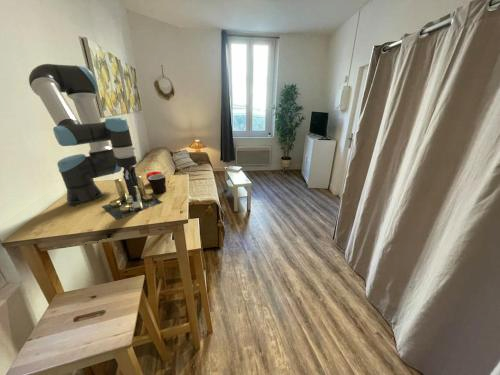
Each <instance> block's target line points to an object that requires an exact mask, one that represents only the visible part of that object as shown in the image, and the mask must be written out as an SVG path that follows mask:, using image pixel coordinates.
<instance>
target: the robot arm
mask: <svg viewBox="0 0 500 375" xmlns="http://www.w3.org/2000/svg"><path fill="white" fill-rule="evenodd" d="M28 76H29V77H28V84H29V86H30V88H31V90H32V92H33V93H34V94H35V95H37V96H38V97H39V98H40V100H41V102H42V103H43V105H44V107H45V108H46V111H47V112H48V114H49V115H50V117H51V119H52V120H53V122H54V124H55V125H56V126H54V127H53V128H52V129H53V134H54V136H55V139H56V141H57V143H58V144H59V146H61V147H71V146H72V147H73V146H79V145H86V144H88V145H89V148H90V150H89V151H88V156H87V155H86V154H84V153H79V154H74V155H70V156H66V157H64V158H61V159H60V160H58V161H57V163H56V164H57V167H58V172H59V173H60V174H61V175H60V176H61V178H62V180H63V182H64V183H63V184H64V186H65V188H66V203H67V204H68V206H71V207H76V206H79V205H82V204H87V203H90V202H94V201H96V200H98V199H99V198H101V197H102V196H103V192H102V191H101V189H100V188H99V187H98V186H97V185H96V183H95V180H94V179H96V178H101V177H104V176H109V175H114V174H117V173H120V172H121V171H122V169H123V171H122V174H123V176H122V177H123V180H124V181H125V185H126V186H125V187H126V188H127V189H126V190H127V192H128V195H127V196H129V197H131V198H132V202H133V206H134V208H137V207H141V205H140V201H139V197H138V194H137V192H136V187H135V185H136V186H137V187H139V185H138V181H137V177H136V176H137V173H136V167H135V166H136V165H137V164H138V162H137V157H136V155H135V150H136V147H134V146H133V140H132V137H131V133H130V126H129V124H128V121H127V119H126V118H125V117H108V118H105V119H104V121H102V119H101V116H100V113H99V110H98V107H97V104H96V102H95V98H96V96H97V94H96V93H97V92H98V91H99V86H98V83H97V80H96V78H95V76H94V74H93V73H92V71H91V70H90V69H89V68H87V67H86V66H79V65H76V64H75V65H72V64H71V65H69V64H68V65H67V64H53V63H45V64H40V65H37V66H36V67H34V68H33V69H32V70H31V72H30V73H29V75H28ZM62 93H66V96H67V98H69V99H71V100H72V101H73V103H74V108H76V112H77V115H78V117H77V116H76V114H75V113H74V111H73V109H72V108H71V106H70V105H69V104H68V102H67V100H66V98H65V97H64V95H63V94H62ZM78 118H79V119H78ZM79 120H80V121H79ZM109 141H110V143H109ZM139 190H140V188H138V191H139ZM139 195H140V193H139ZM140 199H141V197H140ZM141 202H142V201H141Z"/></svg>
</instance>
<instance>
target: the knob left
mask: <svg viewBox="0 0 500 375" xmlns="http://www.w3.org/2000/svg"><path fill="white" fill-rule="evenodd" d="M136 177H137V181H138V185H139V187H138V188H140V190H139V193H140V197H143V200H144V201H149V200H151V199H153V197H154V196H153V194H152V193H147V191H146V188H145V184H144V183H145V182H144V179H143V175H136Z"/></svg>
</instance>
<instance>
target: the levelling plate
mask: <svg viewBox="0 0 500 375" xmlns="http://www.w3.org/2000/svg"><path fill="white" fill-rule="evenodd" d="M152 197H153V199H151V200H149V201H144V200H143V197H141V201H142V206H143V208H142V209H140V210H135V208H133V209H131V210H130V211H128V212H121V211H120V206H122V205H125V204H130V205H133V202H132V198H131V196H129V197H127V198H128V199H127V200H126V201H121V205H120V206H117V207H111V205H110V203H108V204H106V205H102V206H101V208H102V209H104V210H105V211H106V212H107V213H108V214H109V215H110V216H112V218H114V219H115V220H116V221H120V220H122V219H124V218H127V217H129V216H132V215H134V214H137V213H140V212H142V211H145V210H147V209H150V208H153V207H155V206H157V205H160V204H163V201H161V200H160V199H157V198H156V197H154V196H152Z"/></svg>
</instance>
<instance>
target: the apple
mask: <svg viewBox="0 0 500 375" xmlns="http://www.w3.org/2000/svg"><path fill="white" fill-rule="evenodd" d="M156 174H163V173H162V172H161V171H150V172H147V173H146V176H145V177H146V179H147V181H148V182H149V179H148V177H150V176H152V175H156ZM149 184H150V182H149Z"/></svg>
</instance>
